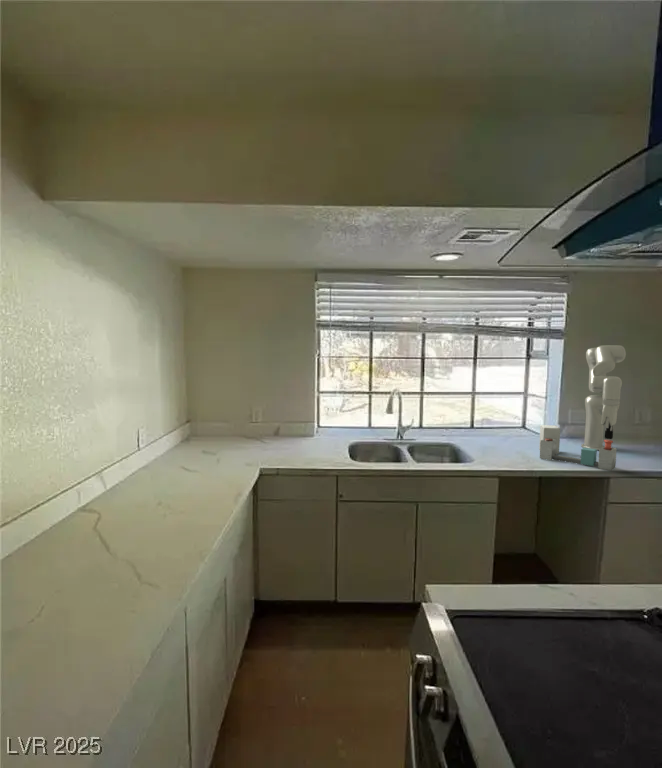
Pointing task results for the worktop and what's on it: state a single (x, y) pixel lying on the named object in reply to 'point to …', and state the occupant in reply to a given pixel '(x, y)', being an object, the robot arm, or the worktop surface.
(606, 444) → the knob
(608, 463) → the cabinet
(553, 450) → the cabinet
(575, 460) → the rail
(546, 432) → the supplement box
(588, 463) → the carriage
